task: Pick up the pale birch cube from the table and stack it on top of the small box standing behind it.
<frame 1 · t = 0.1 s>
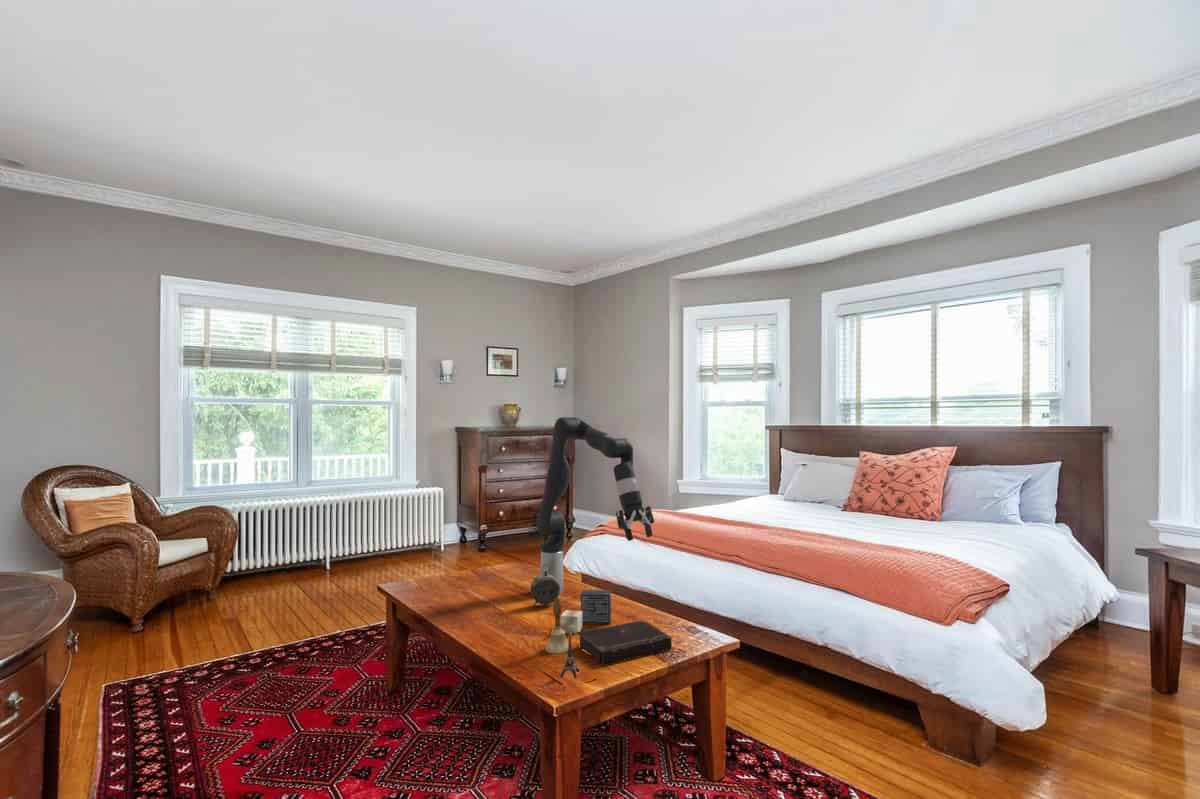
hand: (640, 538, 208), 31 cm above the table, tool tilted 20°, fingers open, 8 cm apart
diary: (623, 649, 194), on the table
hand bell: (558, 649, 193), on the table
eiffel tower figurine: (568, 677, 174), on the table
alarm clock: (545, 606, 235), on the table
small box: (596, 621, 218), on the table
birch cube: (571, 630, 209), on the table
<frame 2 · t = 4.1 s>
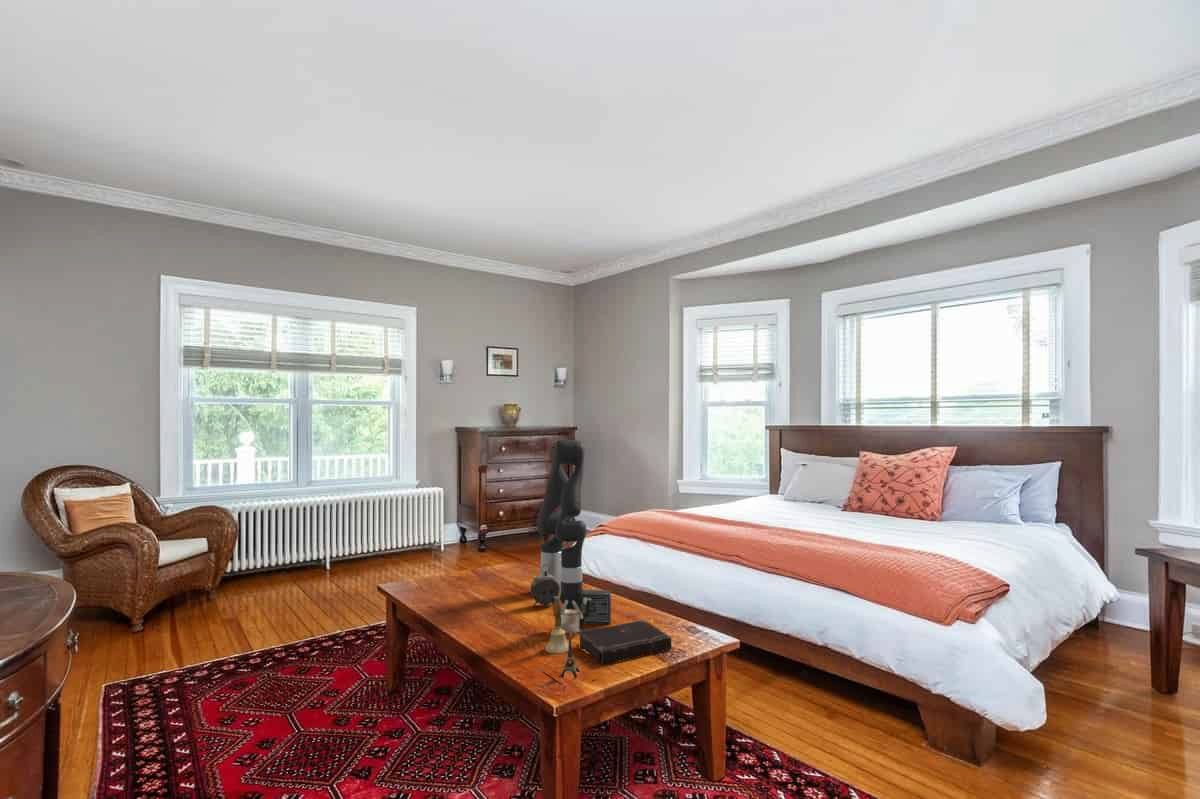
hand: (571, 628, 209), 1 cm above the table, tool pointing down, fingers closed on birch cube, 6 cm apart
birch cube: (572, 630, 209), on the table, touching gripper
everything else where it was.
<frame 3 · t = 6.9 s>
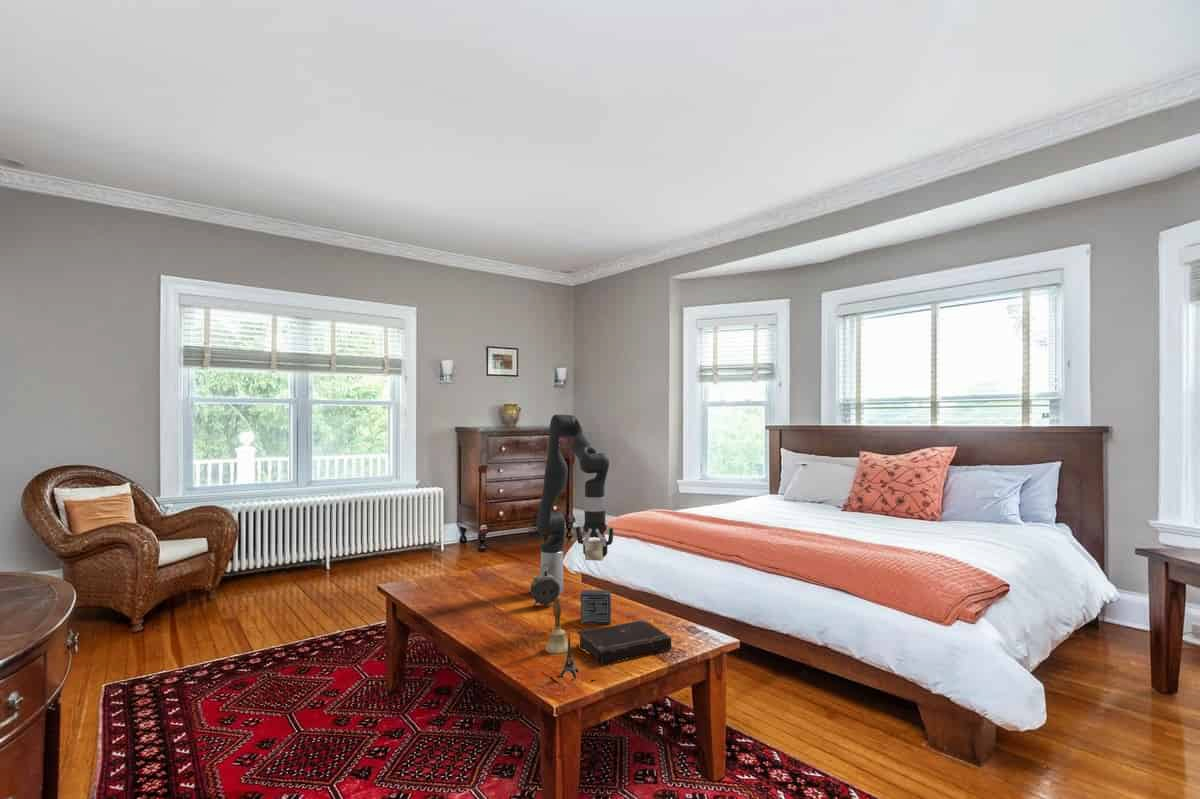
hand: (595, 555, 219), 23 cm above the table, tool pointing down, fingers closed on birch cube, 6 cm apart
birch cube: (595, 558, 218), point 22 cm above the table, touching gripper
everything else where it was.
when the fingers open (12 cm above the table, at t = 9.6 s): birch cube stays where it is, resting on small box.
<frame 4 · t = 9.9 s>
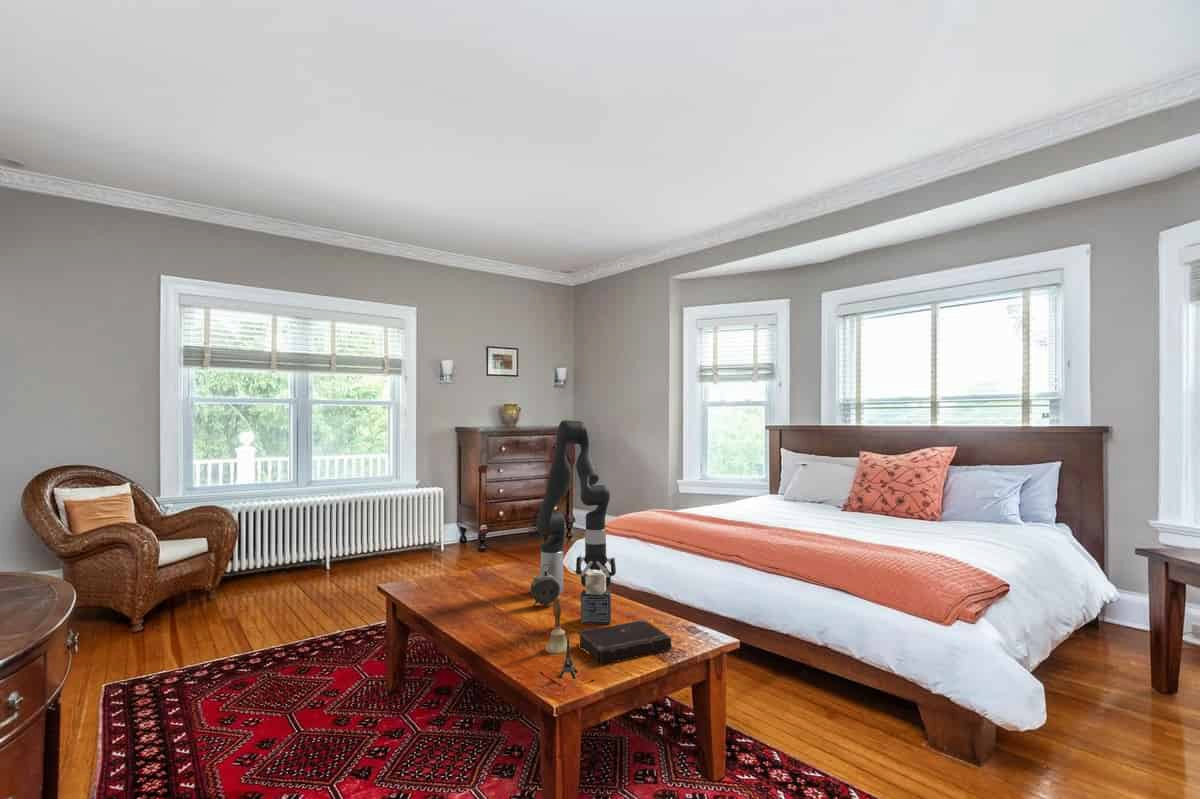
hand: (596, 586, 218), 12 cm above the table, tool pointing down, fingers open, 8 cm apart
small box: (596, 621, 218), on the table, touching birch cube
birch cube: (596, 591, 218), point 10 cm above the table, touching small box
everything else where it was.
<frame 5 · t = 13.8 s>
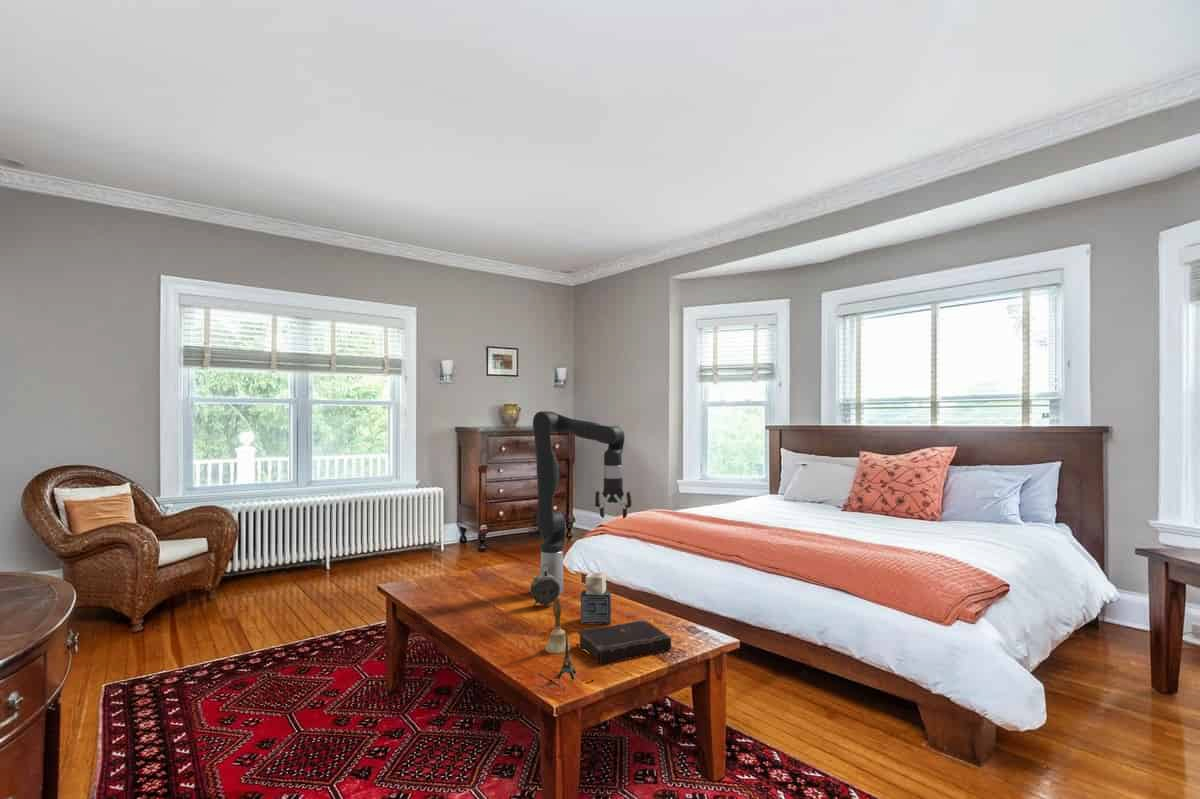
hand: (613, 517, 240), 33 cm above the table, tool pointing down, fingers open, 8 cm apart
at the end: birch cube inside the target area on the small box (0.0 cm from its centre), point 10.7 cm above the small box's base; birch cube tilted 0°; the gripper is holding nothing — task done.
